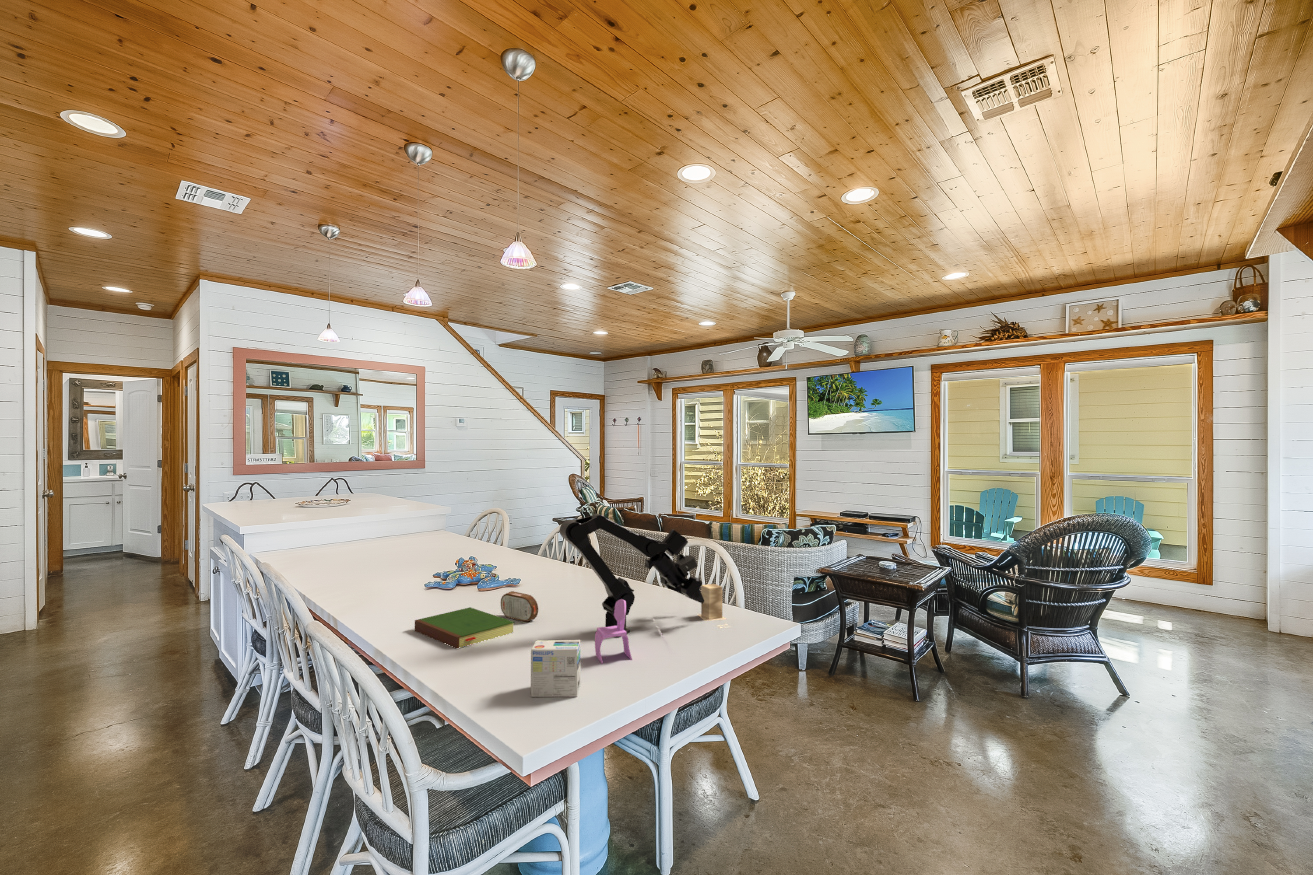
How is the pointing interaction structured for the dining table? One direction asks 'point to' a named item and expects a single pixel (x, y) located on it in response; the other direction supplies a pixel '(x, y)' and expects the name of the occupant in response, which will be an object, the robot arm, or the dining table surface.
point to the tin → (519, 606)
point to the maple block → (711, 601)
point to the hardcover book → (463, 627)
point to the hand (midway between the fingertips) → (696, 598)
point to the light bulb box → (555, 668)
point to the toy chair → (614, 630)
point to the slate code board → (713, 619)
